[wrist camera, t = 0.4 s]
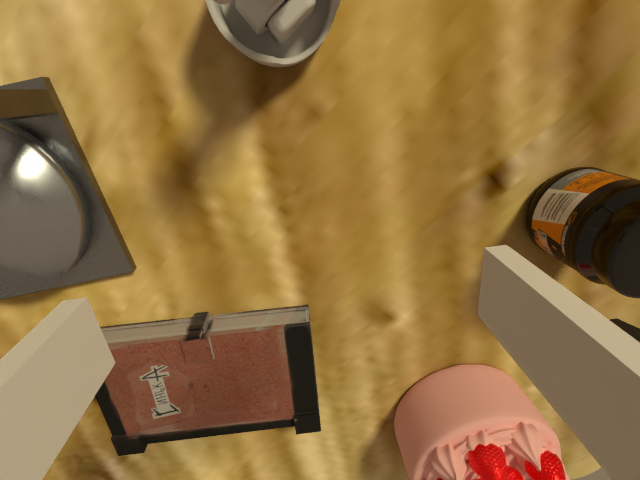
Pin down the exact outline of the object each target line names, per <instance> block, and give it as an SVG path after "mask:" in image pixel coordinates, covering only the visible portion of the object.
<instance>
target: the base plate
mask: <svg viewBox="0 0 640 480" xmlns="http://www.w3.org/2000/svg"><path fill="white" fill-rule="evenodd" d="M0 89H47V90H48V92H49V94H50V96H51V98H52V100H53V102H54V105H55V107H56V109H57V111H58V113H53V114H48V115H44V116H39V117H32V118H23V119H14V120H6V121H7V122H9V123H11V124H14V125H16V126H18V127H20V128H22V129H23V130H25V131H27V132H28V133H30V134H32V135H33V136H35V137H36V138H37V139H39V140H40V141H41V142H43V143H44V144H45V145H47V146H48V147H49V148H50V149H51V150H52V151H53V152H54V153H55V154H56V155H58V157H59V158H60V159H61V160H62V161H63V162H64V163H65V164H66V166H67V167H68V168H69V170H70V171H71V172H72V174H73V175H74V177H75V178H76V180H77V182H78V184H79V186H80V187H81V189H82V192H83V194H84V197H85V199H86V202H87V206H88V210H89V217H90V233H89V239H88V243H87V246H86V248H85V251H84V252H83V254H82V256H81V258H80V259H79V260H78V262H77V263H76V264H75V265H74V266H73V267H72V268H71V269H70V270H68V271H67V272H66V273H65V274H64V275H62V276H61V277H60V278H59V279H58V280H56V281H55V282H53V283H52V284H50V285H48V286H47V287H44V288H42V289H40V290H37V291H34V292H39V291H43V290H48V289H53V288H58V287H62V286H67V285H72V284H77V283H81V282H86V281H91V280H96V279H100V278H105V277H110V276H115V275H119V274H124V273H129V272H133V271H134V270H135V269H136V265H135V263H134V261H133V259H132V257H131V254H130V252H129V250H128V248H127V246H126V244H125V241H124V239H123V237H122V235H121V233H120V231H119V228H118V226H117V224H116V222H115V220H114V218H113V215H112V213H111V211H110V209H109V207H108V205H107V202H106V200H105V198H104V196H103V194H102V192H101V190H100V187H99V185H98V183H97V181H96V179H95V177H94V174H93V172H92V170H91V168H90V166H89V164H88V161H87V159H86V157H85V155H84V153H83V151H82V148H81V146H80V144H79V142H78V140H77V138H76V135H75V133H74V131H73V129H72V127H71V125H70V122H69V120H68V118H67V116H66V114H65V112H64V110H63V107H62V105H61V103H60V101H59V99H58V97H57V94H56V92H55V90H54V88H53V86H52V84H51V81H50V79H49V77H40V78H35V79H30V80H26V81H21V82H16V83H12V84H7V85H2V86H0ZM34 292H30V293H34ZM27 294H29V293H27ZM20 295H24V294H20ZM20 295H10V296H0V300H1V299H5V298H10V297H15V296H20Z"/></svg>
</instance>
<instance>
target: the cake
mask: <svg viewBox="0 0 640 480" xmlns="http://www.w3.org/2000/svg"><path fill="white" fill-rule="evenodd" d="M394 431H395V435H396V438H397V442H398V445H399V448H400V451H401V455H402V458H403V461H404V465H405V468H406V471H407V475H408V478H409V480H570V477H569V475H568V474H567V473H566V472H565V467H564V464H563V463H562V459H561V450H560V443H559V440H558V438H557V436H556V434H555V433H554V431H553V430H552V429H551V427H550V426H549V425H548V423H547V422H546V421H545V419H544V418H543V417H542V415H541V414H540V413H539V411H538V410H537V409H536V408H535V406H534V405H533V404H532V402H531V401H530V400H529V398H528V397H527V396H526V395H525V393H524V392H523V391H522V389H521V388H520V387H519V386H518V384H517V383H516V382H515V381H514V380H513V379H512V378H511V377H510V376H509V375H508V374H506V373H505V372H503V371H501V370H499V369H496V368H493V367H490V366H487V365H482V364H461V365H455V366H451V367H447V368H444V369H441V370H438V371H436V372H433V373H431V374H429V375H428V376H426V377H425V378H423V379H422V380H420V381H419V382H417V383H416V384H415V385H413V386H412V387H411V388H410V389H409V390H408V391H407V393H406V394H405V395H404V397H403V398H402V400H401V401H400V403H399V404H398V407H397V410H396V413H395V417H394Z"/></svg>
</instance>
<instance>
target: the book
mask: <svg viewBox="0 0 640 480" xmlns="http://www.w3.org/2000/svg"><path fill="white" fill-rule="evenodd" d="M100 328H101V330H102V333H103V335H104V337H105V340H106V342H107V344H108V347H109V349H110V351H111V353H112V356H113V358H114V360H115V365H114V366H113V368H112V369H111V371H110V373H109V374H108V376H107V377H106V379H105V381H104V382H103V384H102V385H101V387H100V388H99V390H98V392H97V393H96V395H95V397H96V399H97V402H98V404H99V406H100V408H101V411H102V413H103V415H104V417H105V420H106V422H107V424H108V426H109V429H110V431H111V433H112V435H113V436H112V438H111V440H112V443H113V445H114V447H115V449H116V452H117V454H118V456H121V455H129V454H138V453H144V452H145V449H146V447H147V444H150V443H158V442H167V441H175V440H183V439H192V438H200V437H208V436H217V435H225V434H233V433H242V432H250V431H258V430H267V429H275V428H283V427H292V426H295V429H296V434H303V433H311V432H319V431H321V427H320V416H319V404H318V395H317V385H316V375H315V365H314V356H313V346H312V336H311V327H310V317H309V307H308V305H303V306H294V307H284V308H275V309H265V310H256V311H247V312H237V313H228V314H218V315H209V312H204V313H195V314H194V317H190V318H181V319H171V320H162V321H153V322H143V323H134V324H124V325H115V326H106V327H100Z"/></svg>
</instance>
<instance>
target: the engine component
mask: <svg viewBox="0 0 640 480" xmlns="http://www.w3.org/2000/svg"><path fill="white" fill-rule="evenodd" d="M205 1H206V4H207V7H208V10H209V12H210V14H211V17H212V19H213V21H214V23H215V24H216V26H217V27H218V29H219V31H220V32H221V33H222V34H223V36H224V37H225V38H226V39H227V40H228V41H229V42H230V43H231V44H232V45H233V46H234V47H235V48H237V49H238V50H239V51H241V52H242V53H243V54H244V55H246V56H247V57H249V58H250V59H252V60H254V61H256V62H258V63H260V64H262V65H266V66H269V67H289V66H292V65H295V64H298V63H300V62H302V61H304V60H305V59H307V58H308V57H309V56H311V55H312V54H313V53H314V52H315V51H316V50H317V48H318V47H319V46H320V45H321V43H322V42H323V40H324V39H325V37H326V36H327V34H328V32H329V30H330V28H331V25H332V23H333V20H334V17H335V14H336V11H337V9H338V7H339V4H340V0H205Z"/></svg>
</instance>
